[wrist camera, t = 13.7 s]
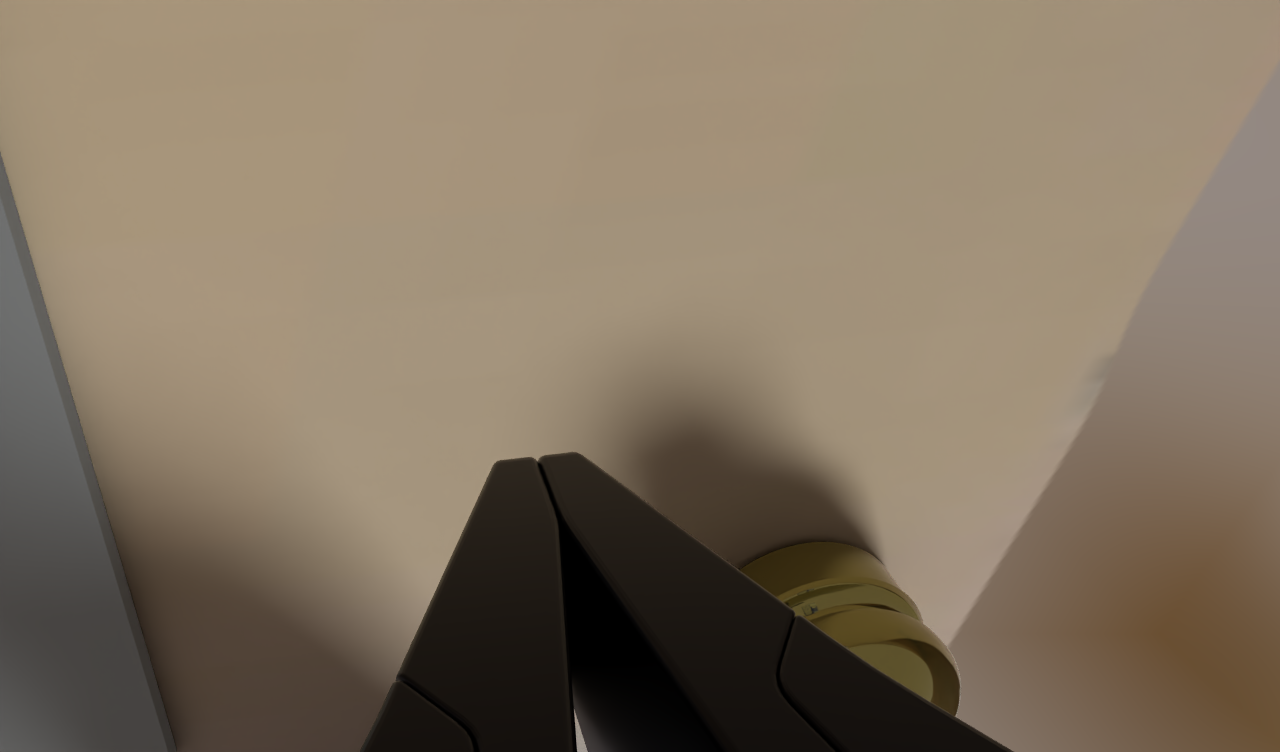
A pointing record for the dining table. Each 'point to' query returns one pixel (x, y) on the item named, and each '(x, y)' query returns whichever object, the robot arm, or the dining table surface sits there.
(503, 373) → the dining table surface
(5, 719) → the mat
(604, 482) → the robot arm
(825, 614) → the olive tall rounded piece
